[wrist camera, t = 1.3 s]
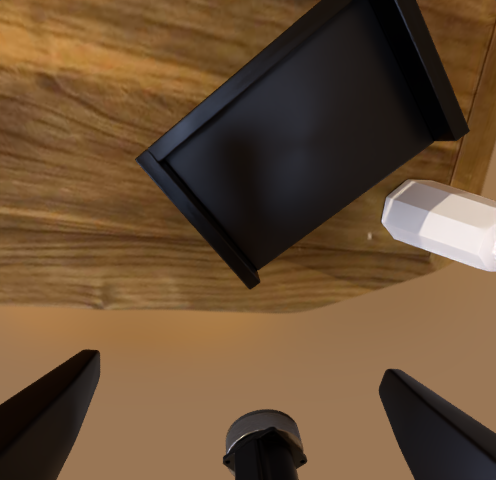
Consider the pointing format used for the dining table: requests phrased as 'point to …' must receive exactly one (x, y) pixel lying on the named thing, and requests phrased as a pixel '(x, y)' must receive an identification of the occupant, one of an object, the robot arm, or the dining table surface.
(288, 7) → the dining table surface
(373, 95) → the black open box
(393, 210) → the salt shaker
